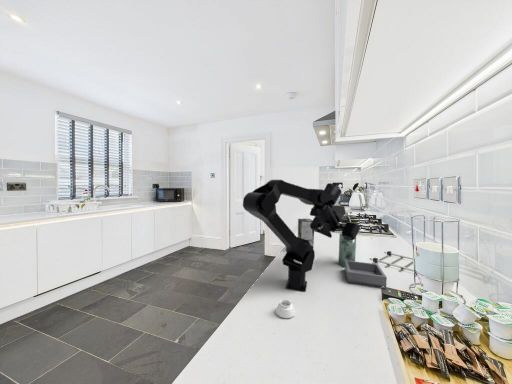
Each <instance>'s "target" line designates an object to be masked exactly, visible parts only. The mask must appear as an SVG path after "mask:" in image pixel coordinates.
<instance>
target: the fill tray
mask: <svg viewBox="0 0 512 384" xmlns="http://www.w3.org/2000/svg"><path fill="white" fill-rule="evenodd" d="M344 274H345V278H346V280H347V281H346V282H347V284H348V285H349V284H350V285H355V286H356V285H357V286H362V287H363V286H364V287H370V288H377V289H382V288H381V287H382V286H384V287H386V288H387V281H388V280H387V277H388V276H386V274H385V273H384V271H383V270H382V268H381V267H380V266H379V264H378V263H373V262H372V263H370V262H365V261H364V262H363V261H356V260H355V261H347V260H345V268H344Z"/></svg>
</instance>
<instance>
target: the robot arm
mask: <svg viewBox="0 0 512 384" xmlns="http://www.w3.org/2000/svg"><path fill="white" fill-rule="evenodd" d="M282 195H283V196H286V197H289V198H294V199H298V200H300V202H301V203H303V204H305V205H309V206H310V205H311V206H313V207H312V208H310V212H309V215H310V216H311V217H314V218H313V219H312V222H311V224H310V228H311V229H312V230H313V231H314V233H315V232H316V233H319V234H321V235H324V236H325V237H327V238H330V239H332V237H333V235H332V233H335V232H336V231H337V230H338V231H341V232H342V236H343V237H344V239H345V240H347V241H348V242H350V243H352V242H353V240H354V239H355V238H356V239H357V236H358V234H359V231H360V229H361V227H360V224H359V223H358V222H353V221H346V223H345V224H344V223H342V221H343V219H342V218H343V217H344V216H346V214H347V212H346V208H345V206H344V205H338V204H336V203H337V202H338V199H339V198H340V197H341V195H342V190H341V189H340V188H339V187H338V186H336V185H334V184H333V183H331V182H330V183H327V184H326V185H325V188H324V189H321V188H320V189H319V188H306V187H302V186H300V185H296V184H294V183H290V182H287V181H284V180H283V179H270V180H269V181H267V182H266V183H265V184H263V185H261V186H259V187H257V188H256V189H254V190H253V191H252V192H247V193H246V194H245V195H244V197H243V200H242V207H243V209H244V210H245V211H246V212H247V213H249V214H250V215H252V216H253V217H255V218H256V219H257V218H258V219H259V220H261V221H262V222H263V223H264V224H265V225H266V226H267V227H268V229H270V230H271V232H272V233H273V234H274V235H275V236H276V237H277V239H279V241H281V243H282V244H283V245H284V246H285V251H286V253H285V254H284V256H283V257H282V259H281V260H282V261H281V262H282V265H284V266H286V267H287V268H288V269H287V271H288V272H287V281H286V283H285V287H284V288H285V289H288V290H289V289H290V290H295V291H302V292H306V291H307V286H308V281H307V280H306V276H307V275H306V273H307V272H310V271H312V269H313V264H314V261H315V249H314V247H313V246H311V244H310V243H309V241H308V240H306V239H302V238H299V237H298V236H297V235H295V233H294V232H293V230H291V228H290V227H289V226H288V225H287V223H286V222H285V221H284V220H283V219H282V218H281V217H280V215H279V214H278V213H277V206H276V204H277V203H279V201H280V198H281V196H282ZM331 232H332V233H331Z"/></svg>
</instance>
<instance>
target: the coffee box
mask: <svg viewBox="0 0 512 384" xmlns="http://www.w3.org/2000/svg"><path fill="white" fill-rule="evenodd" d="M312 221H313V219H311V218H298V219H297V237H299V238H302V239H306V240H308V241H309V243H310V244H311V246H313V248H314V245H315V244H314V241H315V231H313V230H312V229H311V228H310V224H311V222H312Z"/></svg>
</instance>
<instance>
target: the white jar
mask: <svg viewBox="0 0 512 384" xmlns="http://www.w3.org/2000/svg"><path fill="white" fill-rule="evenodd" d="M275 314H276V315H277V316H278V317H279V318H282V319H290V318H293V317H295V315H296V311H295V308H294V305H293V304H292V301H290V300H289V299H281V300H280V301H279V302H278V304H277V307H275Z"/></svg>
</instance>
